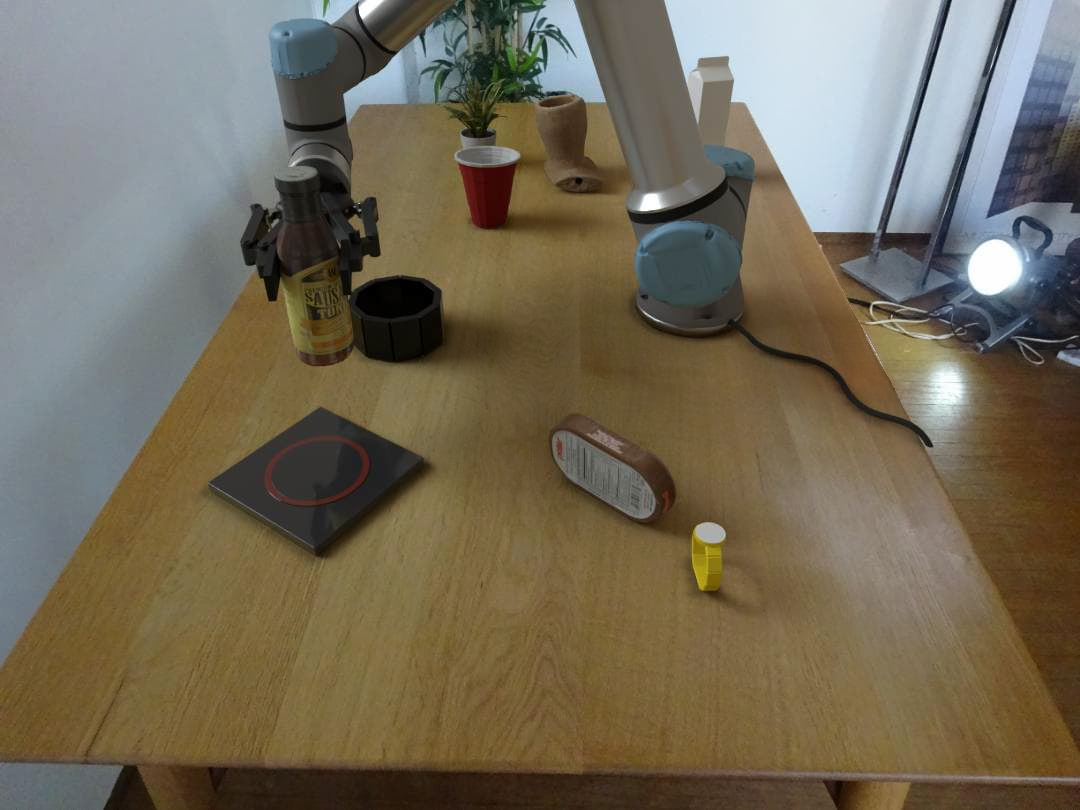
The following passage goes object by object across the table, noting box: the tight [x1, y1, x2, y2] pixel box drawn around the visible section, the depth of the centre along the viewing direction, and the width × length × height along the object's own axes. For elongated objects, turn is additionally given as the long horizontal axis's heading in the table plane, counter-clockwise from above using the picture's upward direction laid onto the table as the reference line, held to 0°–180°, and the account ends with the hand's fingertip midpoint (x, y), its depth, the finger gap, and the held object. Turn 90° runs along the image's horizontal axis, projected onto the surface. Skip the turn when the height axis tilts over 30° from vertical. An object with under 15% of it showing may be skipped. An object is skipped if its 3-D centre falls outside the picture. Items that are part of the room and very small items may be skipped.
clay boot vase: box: [534, 93, 607, 193], centre depth 148 cm, size 15×12×15 cm
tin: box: [548, 412, 677, 524], centre depth 82 cm, size 15×3×8 cm, turn 47°
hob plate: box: [207, 406, 425, 557], centre depth 87 cm, size 16×16×1 cm
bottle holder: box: [348, 274, 446, 363], centre depth 108 cm, size 12×12×6 cm
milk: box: [687, 55, 735, 147], centre depth 147 cm, size 6×6×22 cm
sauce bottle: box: [273, 166, 355, 367], centre depth 80 cm, size 6×6×20 cm
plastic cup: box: [454, 145, 521, 230], centre depth 135 cm, size 11×11×12 cm
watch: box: [691, 521, 727, 592], centre depth 75 cm, size 6×3×6 cm, turn 3°
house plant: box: [436, 76, 508, 149], centre depth 155 cm, size 14×14×16 cm
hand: (308, 285), depth 76 cm, fingers closed on sauce bottle, 6 cm apart
